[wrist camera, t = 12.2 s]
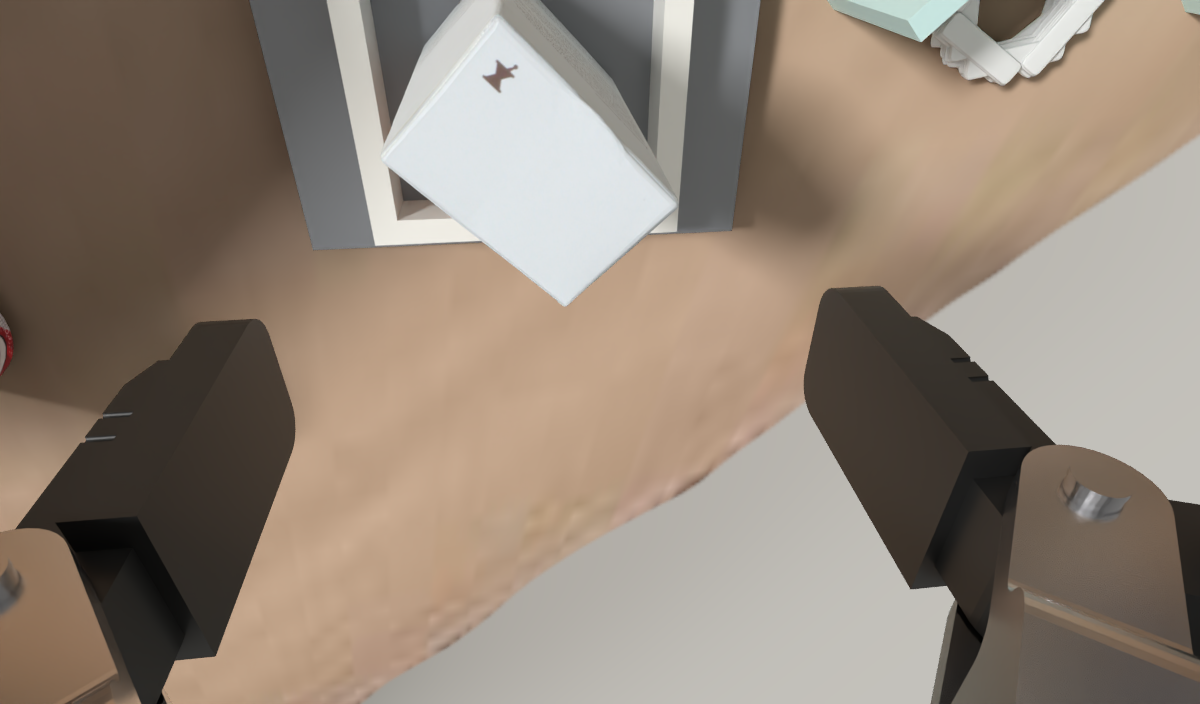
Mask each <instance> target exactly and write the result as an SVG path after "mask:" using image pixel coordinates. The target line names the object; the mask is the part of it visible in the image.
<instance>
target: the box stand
mask: <svg viewBox="0 0 1200 704" xmlns="http://www.w3.org/2000/svg"><path fill="white" fill-rule="evenodd" d="M460 1H461V0H249V2H250V6H251V9H252V13H253V17H254V21H255V25H256V29H257V33H258V37H259V41H260V45H261V48H262V52H263V56H264V60H265V64H266V68H267V72H268V76H269V80H270V84H271V88H272V91H273V95H274V99H275V103H276V107H277V111H278V115H279V119H280V123H281V127H282V130H283V134H284V138H285V142H286V146H287V150H288V154H289V158H290V162H291V166H292V169H293V173H294V177H295V181H296V185H297V189H298V193H299V197H300V201H301V205H302V209H303V212H304V216H305V220H306V224H307V228H308V232H309V236H310V240H311V244H312V248H313V250H328V249H349V248H371V247H393V246H414V245H436V244H458V243H479V242H482V241H481V240H479V239H478V238H477V237H475V236H474V235H473V234H472V233H470V232H469V231H468V230H466V229H465V228H464V227H463V226H461V225H460V224H459V223H458V222H456V221H455V220H454V219H452V218H451V217H450V216H449V215H448V214H446V213H445V212H444V211H443V210H441V209H440V208H439V207H438V206H436V205H435V204H434V203H433V202H431V201H430V200H429V199H427V198H426V197H425V196H424V195H422V194H421V193H420V192H419V191H417V190H416V189H415V188H414V187H412V186H411V185H410V184H409V183H407V182H406V181H405V180H404V179H403V178H401V177H400V176H399V175H398V174H396V173H395V172H394V171H393V170H391V169H390V168H389V167H388V166H386V165H385V164H384V163H383V162H382V161H381V151H382V148H383V146H384V143H385V141H386V139H387V137H388V134H389V132H390V130H391V127H392V124H393V121H394V119H395V116H396V114H397V111H398V109H399V106H400V104H401V102H402V99H403V97H404V94H405V91H406V89H407V86H408V84H409V82H410V79H411V77H412V74H413V72H414V69H415V67H416V64H417V62H418V59H419V57H420V55H421V53H422V50H423V47H424V45H425V44H426V43H427V42H428V40H429V39H430V38H431V37H432V36H433V34H434V33H435V32H436V31H437V29H438V28H439V27H440V25H441V24H442V23H443V22H444V20H445V19H446V18H447V17H448V15H449V14H450V13H451V12H452V10H453V9H454V8H455V7H456V6H457V4H458V3H459V2H460ZM540 1H541V2H542V3H543V4H544V5H545V6H546V7H547V8H548V9H549V10H550V11H551V12H552V13H553V14H554V16H555V17H556V18H557V19H558V20H559V21H560V22H561V23H562V24H563V25H564V26H565V28H566V29H567V30H568V31H569V32H570V33H571V34H572V35H573V36H574V37H575V38H576V40H577V41H578V42H579V43H580V44H581V45H582V46H583V47H584V48H585V49H586V50H587V52H588V53H589V54H590V55H591V56H592V57H593V58H594V59H595V60H596V62H597V63H598V64H599V65H600V66H601V67H602V68H603V69H604V70H605V72H606V73H607V74H608V75H609V76H610V77H611V78H612V80H613V81H614V83H615V85H616V87H617V89H618V90H619V92H620V94H621V96H622V98H623V100H624V102H625V104H626V105H627V107H628V109H629V111H630V113H631V114H632V116H633V118H634V120H635V122H636V123H637V125H638V127H639V129H640V130H641V132H642V134H643V136H644V138H645V139H646V141H647V143H648V145H649V147H650V148H651V150H652V152H653V154H654V156H655V157H656V159H657V161H658V163H659V165H660V167H661V169H662V171H663V173H664V175H665V176H666V178H667V180H668V182H669V184H670V186H671V187H672V189H673V191H674V193H675V195H676V197H677V198H678V200H679V206H678V208H677V209H676V210H675V211H674V212H673V213H672V214H670V215H669V216H668V217H667V218H666V219H665V220H664V221H662V222H661V223H660V224H659V225H658V226H657V227H656V228H655V229H653V230H652V231H651V232H650V233H649V234H648V235H652V234H674V233H696V232H717V231H732V225H733V217H734V209H735V201H736V193H737V185H738V177H739V169H740V161H741V153H742V145H743V137H744V129H745V121H746V113H747V105H748V97H749V89H750V81H751V73H752V65H753V57H754V49H755V41H756V33H757V25H758V17H759V9H760V1H761V0H540Z"/></svg>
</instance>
